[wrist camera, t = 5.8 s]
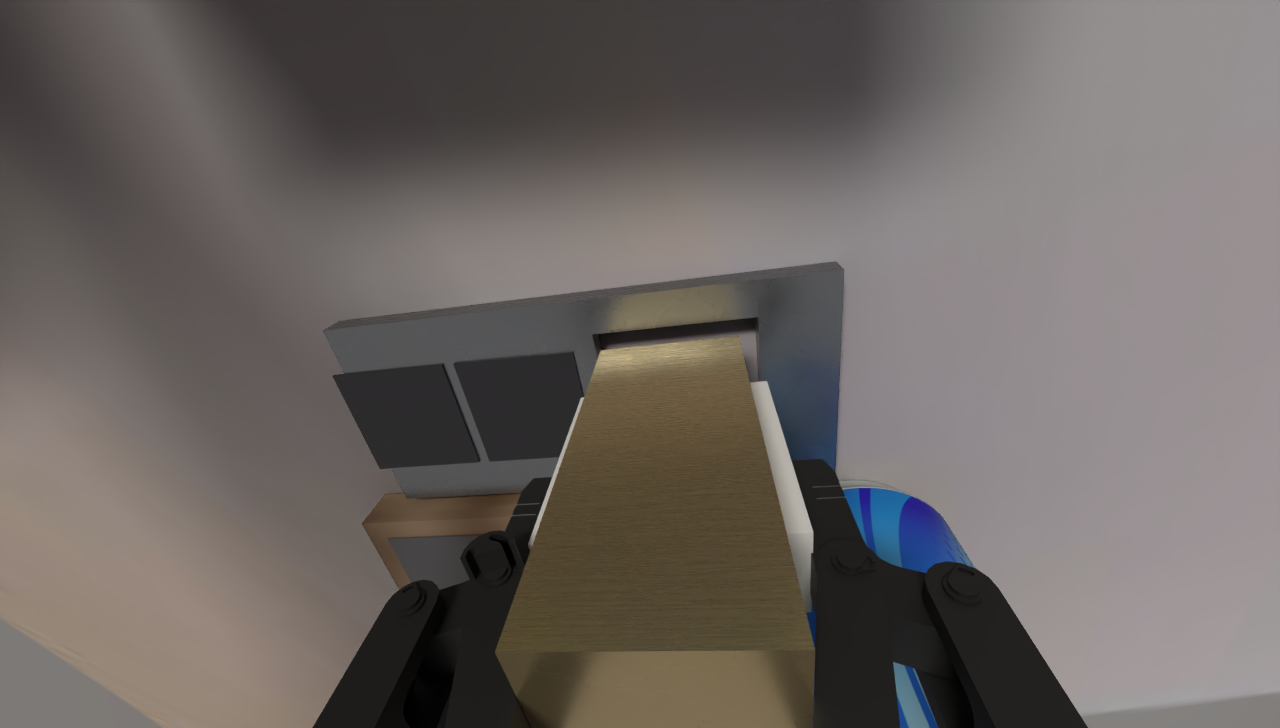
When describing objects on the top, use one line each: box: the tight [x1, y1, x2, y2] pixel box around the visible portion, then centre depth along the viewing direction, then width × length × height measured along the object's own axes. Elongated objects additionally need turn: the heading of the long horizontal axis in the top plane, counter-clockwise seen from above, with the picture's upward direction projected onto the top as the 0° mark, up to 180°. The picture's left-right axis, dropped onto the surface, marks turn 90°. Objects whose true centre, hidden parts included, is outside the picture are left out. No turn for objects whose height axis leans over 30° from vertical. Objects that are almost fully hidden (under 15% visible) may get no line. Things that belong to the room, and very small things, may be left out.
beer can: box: [806, 480, 975, 728], centre depth 16 cm, size 8×8×16 cm
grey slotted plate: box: [324, 262, 844, 499], centre depth 20 cm, size 20×9×1 cm, turn 99°
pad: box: [362, 493, 521, 590], centre depth 25 cm, size 10×10×2 cm
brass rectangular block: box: [495, 336, 815, 728], centre depth 13 cm, size 5×5×11 cm
